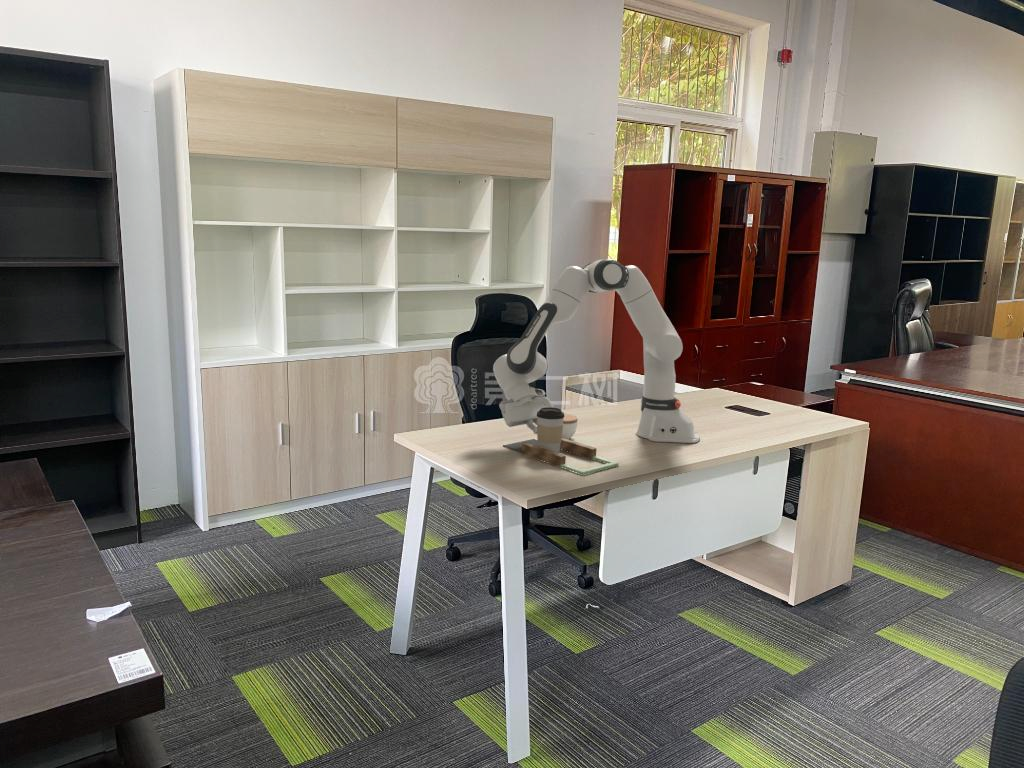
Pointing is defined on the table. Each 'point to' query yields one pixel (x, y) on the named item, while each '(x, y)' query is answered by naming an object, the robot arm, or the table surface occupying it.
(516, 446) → the mat
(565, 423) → the lidded jar
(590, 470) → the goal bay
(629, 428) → the table surface
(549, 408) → the coffee cup
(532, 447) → the channel
